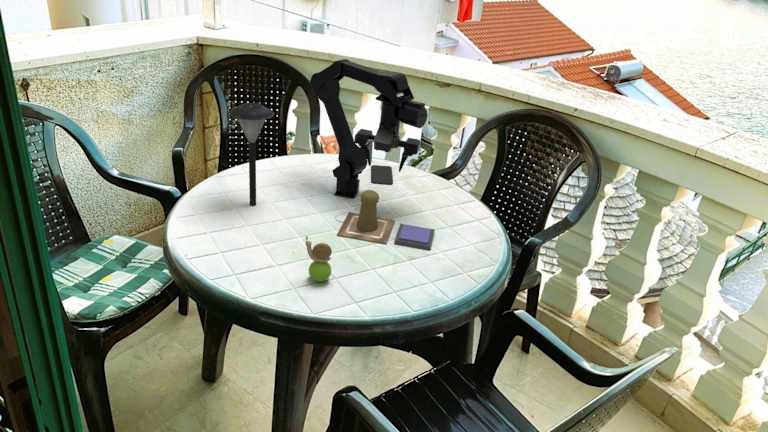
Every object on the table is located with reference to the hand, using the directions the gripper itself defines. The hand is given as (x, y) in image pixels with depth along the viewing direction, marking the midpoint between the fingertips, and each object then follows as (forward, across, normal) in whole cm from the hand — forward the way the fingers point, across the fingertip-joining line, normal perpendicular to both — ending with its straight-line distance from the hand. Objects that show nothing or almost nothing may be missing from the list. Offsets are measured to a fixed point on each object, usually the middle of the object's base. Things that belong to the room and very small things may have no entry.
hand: (384, 168), depth 171 cm
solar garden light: (+13, -35, -15) cm, 41 cm away
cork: (+13, 0, -15) cm, 19 cm away
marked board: (+13, 0, -15) cm, 19 cm away
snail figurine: (+13, -5, -44) cm, 46 cm away
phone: (+14, -5, +23) cm, 27 cm away
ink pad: (+13, +14, -15) cm, 24 cm away
